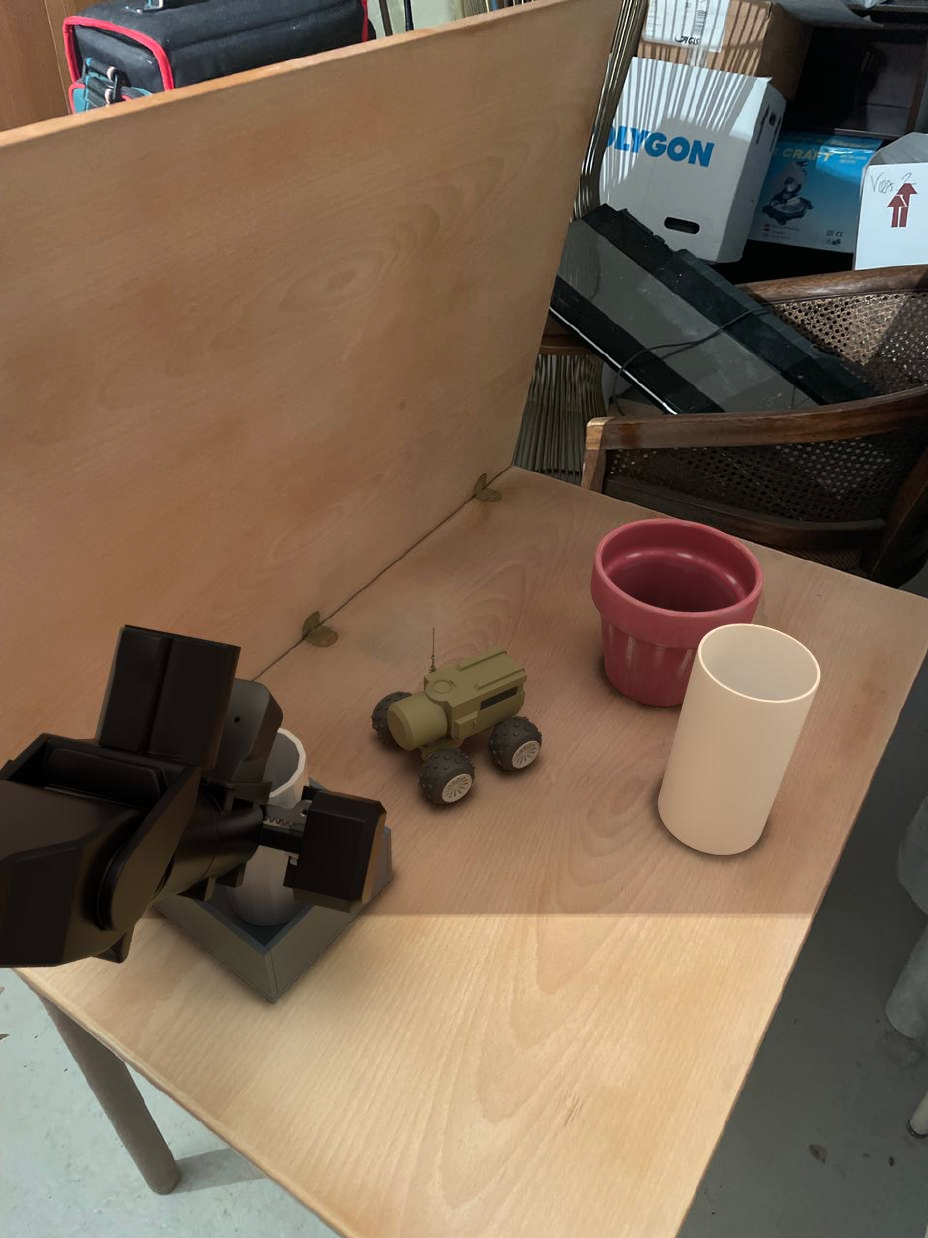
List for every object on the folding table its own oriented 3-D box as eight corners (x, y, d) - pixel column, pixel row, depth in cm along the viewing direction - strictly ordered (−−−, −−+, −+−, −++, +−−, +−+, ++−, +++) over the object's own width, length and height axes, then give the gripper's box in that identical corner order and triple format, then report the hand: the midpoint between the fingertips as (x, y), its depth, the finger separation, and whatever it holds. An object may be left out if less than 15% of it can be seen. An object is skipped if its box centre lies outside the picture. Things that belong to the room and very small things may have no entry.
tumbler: (313, 926, 62) (298, 802, 53) (218, 926, 61) (189, 801, 53) (323, 849, 67) (310, 725, 58) (235, 849, 66) (211, 723, 58)
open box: (273, 1004, 58) (264, 956, 54) (151, 905, 63) (135, 856, 60) (392, 878, 66) (391, 829, 62) (274, 799, 71) (267, 750, 67)
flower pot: (663, 753, 76) (693, 637, 68) (546, 667, 84) (560, 554, 76) (761, 681, 84) (798, 569, 76) (644, 608, 92) (667, 500, 84)
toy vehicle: (545, 763, 75) (560, 653, 67) (432, 819, 70) (434, 708, 62) (474, 688, 81) (480, 582, 74) (366, 735, 76) (361, 626, 69)
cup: (723, 874, 67) (778, 721, 57) (636, 808, 71) (673, 656, 61) (783, 816, 71) (844, 665, 61) (698, 757, 76) (741, 608, 66)
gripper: (372, 716, 45) (428, 720, 60) (36, 648, 48) (172, 669, 63) (325, 942, 44) (395, 888, 59) (-15, 858, 47) (136, 827, 62)
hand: (272, 811), depth 61 cm, fingers closed on tumbler, 6 cm apart
